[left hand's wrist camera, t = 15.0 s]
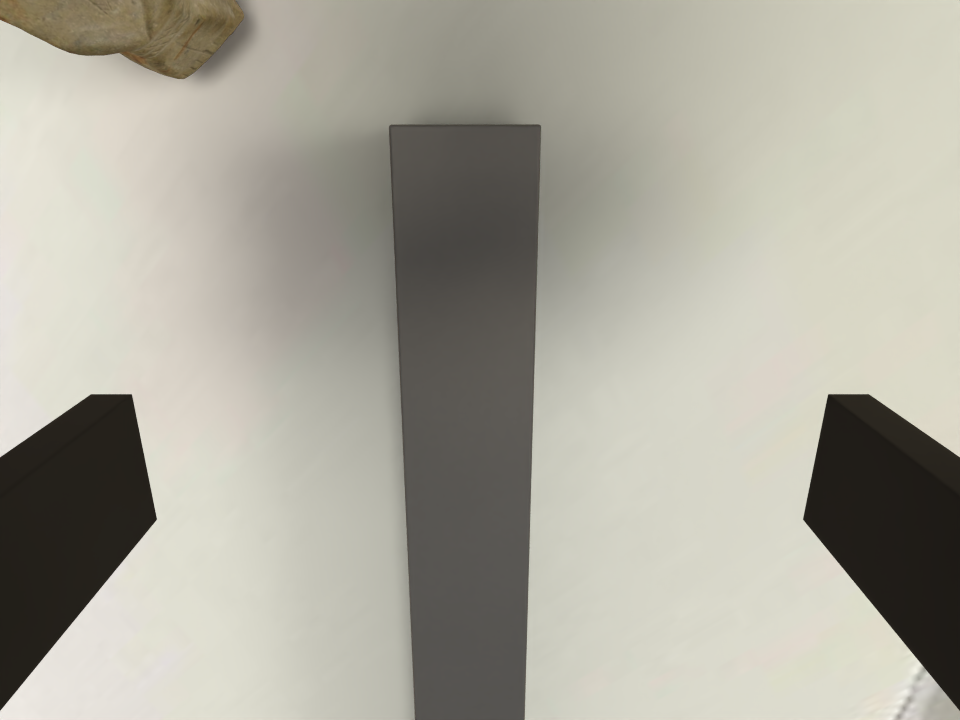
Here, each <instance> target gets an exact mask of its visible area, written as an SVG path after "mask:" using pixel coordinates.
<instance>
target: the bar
mask: <svg viewBox="0 0 960 720" xmlns="http://www.w3.org/2000/svg"><path fill="white" fill-rule="evenodd" d="M389 138H390V160H391V183H392V206H393V228H394V251H395V274H396V297H397V319H398V342H399V365H400V387H401V410H402V433H403V455H404V478H405V501H406V523H407V546H408V569H409V591H410V614H411V637H412V659H413V682H414V705H415V720H525V685H526V649H527V613H528V577H529V541H530V505H531V469H532V433H533V397H534V360H535V324H536V288H537V252H538V216H539V180H540V144H541V126H540V125H390V126H389Z"/></svg>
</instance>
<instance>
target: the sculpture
mask: <svg viewBox="0 0 960 720" xmlns="http://www.w3.org/2000/svg"><path fill="white" fill-rule="evenodd" d="M243 18H244V14H243V11H242V10H241V8H240V7H239V5H238V4H237V3H236V1H235V0H0V20H2V21H4V22H6V23H9V24H11V25H13V26H16V27H18V28H20V29H22V30H24V31H26V32H27V33H29V34H31V35H33V36H35V37H37V38H39V39H42V40H44V41H46V42H47V43H49V44H51V45H53V46H55V47H57V48H59V49H62V50H64V51H67V52H69V53H73V54H78V55H86V56H92V55H109V54H115V53H121V54H122V55H124V56H125V57H127V58H128V59H130V60H132V61H134V62H136V63H137V64H139V65H141V66H143V67H145V68H148V69H150V70H152V71H155V72H157V73H160V74H163V75H166V76H169V77H173V78H177V79H185V78H186V77H188V76H190V75H191V74H193V73H194V72H195V71H196V70H198V69H199V68H200V67H201V66H202V65H203V64H204V63H205V62H206V61H207V60H208V59H209V58H210V57H211V56H212V55H213V54H214V53H215V52H216V51H217V50H218V49H219V48H220V47H221V45H222V44H223V43H224V42H225V40H226V39H227V38H228V36H230V35H231V34H232V33H233V32H234V30H235V29H236V28H237V26H238V25H239V24H240V23H241V21H242V20H243Z"/></svg>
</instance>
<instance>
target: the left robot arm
mask: <svg viewBox="0 0 960 720" xmlns="http://www.w3.org/2000/svg"><path fill="white" fill-rule="evenodd" d="M156 520H157V518H156V513H155V508H154V503H153V498H152V493H151V488H150V483H149V478H148V473H147V468H146V463H145V458H144V453H143V448H142V443H141V438H140V433H139V428H138V423H137V418H136V413H135V408H134V403H133V398H132V394H91V395H90V396H88V397H87V398H85V399H84V400H82V401H81V402H79V403H78V404H77V405H75V406H74V407H72V408H71V409H69V410H68V411H66V412H65V413H64V414H62V415H61V416H59V417H58V418H56V419H55V420H53V421H52V422H51V423H49V424H48V425H46V426H45V427H43V428H42V429H41V430H39V431H38V432H36V433H35V434H33V435H32V436H30V437H29V438H28V439H26V440H25V441H23V442H22V443H20V444H19V445H17V446H16V447H15V448H13V449H12V450H10V451H9V452H7V453H6V454H4V455H3V456H2V457H0V710H1V709H2V708H3V707H4V705H5V704H6V703H7V702H8V701H9V699H10V698H11V697H12V696H13V694H14V693H15V692H16V691H17V690H18V688H19V687H20V686H21V685H22V684H23V682H24V681H25V680H26V679H27V677H28V676H29V675H30V674H31V673H32V671H33V670H34V669H35V668H36V666H37V665H38V664H39V663H40V662H41V660H42V659H43V658H44V657H45V655H46V654H47V653H48V652H49V651H50V649H51V648H52V647H53V646H54V644H55V643H56V642H57V641H58V640H59V638H60V637H61V636H62V635H63V633H64V632H65V631H66V630H67V629H68V627H69V626H70V625H71V624H72V622H73V621H74V620H75V619H76V618H77V616H78V615H79V614H80V613H81V611H82V610H83V609H84V608H85V607H86V605H87V604H88V603H89V602H90V601H91V599H92V598H93V597H94V596H95V594H96V593H97V592H98V591H99V590H100V588H101V587H102V586H103V585H104V583H105V582H106V581H107V580H108V579H109V577H110V576H111V575H112V574H113V572H114V571H115V570H116V569H117V568H118V566H119V565H120V564H121V563H122V561H123V560H124V559H125V558H126V557H127V555H128V554H129V553H130V552H131V550H132V549H133V548H134V547H135V546H136V544H137V543H138V542H139V541H140V539H141V538H142V537H143V536H144V535H145V533H146V532H147V531H148V530H149V529H150V527H151V526H152V525H153V524H154V522H155V521H156ZM803 520H804V521H805V522H806V524H807V525H808V526H809V527H810V528H811V530H812V531H813V532H814V533H815V535H816V536H817V537H818V538H819V539H820V541H821V542H822V543H823V544H824V546H825V547H826V548H827V549H828V550H829V552H830V553H831V554H832V555H833V557H834V558H835V559H836V560H837V561H838V563H839V564H840V565H841V566H842V568H843V569H844V570H845V571H846V572H847V574H848V575H849V576H850V577H851V579H852V580H853V581H854V582H855V583H856V585H857V586H858V587H859V588H860V590H861V591H862V592H863V593H864V594H865V596H866V597H867V598H868V599H869V601H870V602H871V603H872V604H873V605H874V607H875V608H876V609H877V610H878V611H879V613H880V614H881V615H882V616H883V618H884V619H885V620H886V621H887V622H888V624H889V625H890V626H891V627H892V629H893V630H894V631H895V632H896V633H897V635H898V636H899V637H900V638H901V640H902V641H903V642H904V643H905V644H906V646H907V647H908V648H909V649H910V651H911V652H912V653H913V654H914V655H915V657H916V658H917V659H918V660H919V662H920V663H921V664H922V665H923V666H924V668H925V669H926V670H927V671H928V673H929V674H930V675H931V676H932V677H933V679H934V680H935V681H936V682H937V683H938V685H939V686H940V687H941V688H942V690H943V691H944V692H945V693H946V694H947V696H948V697H949V698H950V699H951V701H952V702H953V703H954V704H955V705H956V707H957V708H958V709H959V710H960V457H958V456H957V455H956V454H954V453H953V452H951V451H950V450H948V449H947V448H945V447H944V446H943V445H941V444H940V443H938V442H937V441H935V440H934V439H932V438H931V437H930V436H928V435H927V434H925V433H924V432H922V431H921V430H919V429H918V428H917V427H915V426H914V425H912V424H911V423H909V422H908V421H907V420H905V419H904V418H902V417H901V416H899V415H898V414H896V413H895V412H894V411H892V410H891V409H889V408H888V407H886V406H885V405H883V404H882V403H881V402H879V401H878V400H876V399H875V398H873V397H872V396H870V395H869V394H828V398H827V403H826V408H825V413H824V418H823V423H822V428H821V433H820V438H819V443H818V448H817V453H816V458H815V463H814V468H813V473H812V478H811V483H810V488H809V493H808V498H807V503H806V508H805V513H804V518H803Z"/></svg>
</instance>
